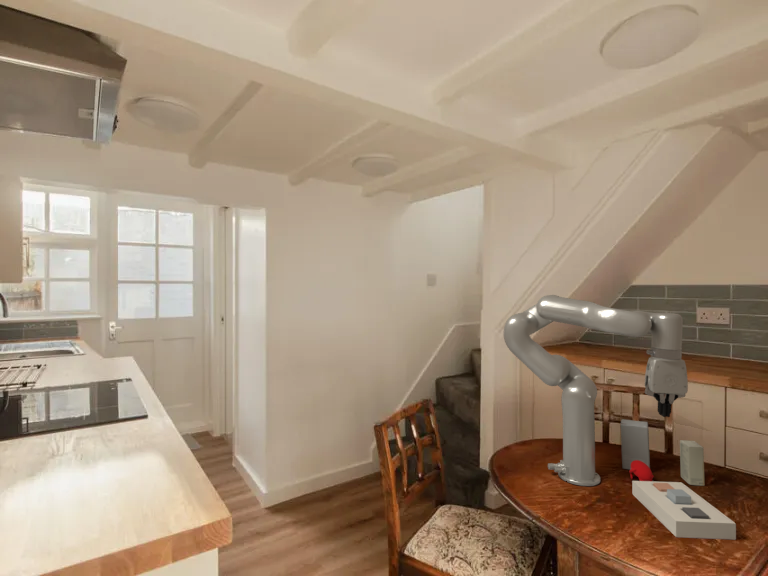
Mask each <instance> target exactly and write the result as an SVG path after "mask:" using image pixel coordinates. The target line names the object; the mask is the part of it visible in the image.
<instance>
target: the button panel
mask: <svg viewBox="0 0 768 576" xmlns="http://www.w3.org/2000/svg"><path fill="white" fill-rule="evenodd" d="M631 483H632V485H631V486H632V495H633V496H634V497H635V498H636V499H637V500H638V502H640V503H641V504H642V505H643V506H644V507H645V508H646V509H647V510H648V511H649V512H650V513H651V514H652V515H653V516H654V517H655V518H656V519H657V520H658V521H659V522H660V523H661V524H662V525H663V526H664V527H665V529H667V530H668V531H669V532H671V534H673V536H675V538H684V539H685V538H689V539H713V540H731V541H732V540H734V541H735V540H736V539H737V524H736V523H735V521H733V520H732V519H731V518H730V517H728V516H726V515H725V514H724V513H723V512H721V511H720V510H719V509H718V508H716V507H715V506H713V504H711V503H709V502H708V501H707V500H705V499H704V498H703V497H702V496H700V495H699V494H697V493H696V492H695V491H693V490H692V489H691V488H690V487H688V486H687V485H685V484H684V483H683V482H679V481H654V480H652V481H640V480H632V481H631ZM653 483H668V484H669V485H671V486H672V487H673V488H674V489H681V490H683V491H685V492H686V493H687V494H688V495H690V496H691V505H683V504H674V503H673V502H672V501H671V500H669V499H668V498H667V492H660V491H659V490H658V489H657V488H656V487H654V486H653ZM682 507H689V508H699V509H701V510H702V511H703V512H704V513H706V514H707V515H708V516H709V519H693V518H690V517H689V516H688V515H687V514H686V513H685V512H683V511H682Z"/></svg>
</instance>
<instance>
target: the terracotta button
mask: <svg viewBox="0 0 768 576" xmlns="http://www.w3.org/2000/svg"><path fill="white" fill-rule="evenodd" d="M653 486H654V487H656V488H657V489H658V490H659V491H660V492H667V489H674V488H673V487H672V486H671V485H669V484H668V483H653Z"/></svg>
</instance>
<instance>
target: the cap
mask: <svg viewBox="0 0 768 576" xmlns="http://www.w3.org/2000/svg"><path fill="white" fill-rule="evenodd" d="M628 472H629V475H630V479H631V480H633V478H634V477H633V476H634V475H635V476H636V477H638V481H653V478H655V476H654V474H653V472H652V470H651V467H650V468H649V467H648V466H647V465H646V464H645V463H644V462H642V461H639V460H634V461H632V463H631V469H630V470H629V471H628ZM633 474H634V475H633Z"/></svg>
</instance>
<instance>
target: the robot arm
mask: <svg viewBox="0 0 768 576" xmlns="http://www.w3.org/2000/svg"><path fill="white" fill-rule="evenodd" d="M683 320H684V319H683V316H682V315H681V314H680V313H673V312H650V311H645V310H625V309H619V308H614V307H613V308H612V307H608V306H604V305H601V304H599V303H595V302H593V301H589V300H582V299H576V298H568V297H562V296H559V295H557V294H547V295H544V296H542V297H540V298H539V300H538V301H537V303H536V304H534V305H533V306H531V307H529V308H528V309H526V310H524V311H523V312H519V313H514V314H512V315H511V316H509V318H508V319H507V320H506V322H505V323H504V327H503V339H504V343H505V345H506V346H507V348H508V350H509V351H510V352H511V353H512V354H513V355H514V356H515V358H517V359H518V360H519V361H520V362H521V363H522V364H523V365H525V367H526V368H528V370H529V371H531V372H532V373H533V374H534V375H535V376H536V377H538V378H539V380H541V382H542V383H544V384H545V385H547V386H550V387H557V386H558V387H559V388H560V389H561V391H562V392H561V393H562V394H561V400H560V401H561V411H562V459H560V460H559V461H560V462H557V463H553V462H551V463H547V468H548V469H547V470H549V471H550V470H553V471H554V473H557V475H558V477H559V478H560V479H562V481H564V482H566V481H567V483H568V484H569V483H570V484H572V485H576V486H581V487H593V486H597V485H599V484H600V483H601V476H600V475H599V474H598V473H597V472H596V437H595V436H596V433H595V432H596V431H595V428H596V427H595V426H596V425H595V423H596V422H595V402H596V399H597V397H598V388H597V385H596V384H595V382H594V381H593V380H592V379H591V378H590V377H589V376H588V375H586V373H584V372H583V371H582V370H581V369H580V368H578V367H577V366H576V365H575V364H574V363H572V362H571V361H570V360H569V359H567V358H566V357H564V356H563V355H560V354H551V353H550V352H548V351H547V350H546V349H545V348H544V347H543V346H542V345H541V344H539V343H538V342H536V341H535V340H534V339H533V338H532V337H531V335H533V334H535V333H536V332H538V331H540V330H541V329H543V328H545V327H547V326H549V325H550V324H553V322H555V323H560V324H561V323H562V324H567V325H573V326H576V327H577V326H578V327H582V328H587V329H591V330H597V331H600V332H604V333H609V334H615V335H619V336H626V337H632V338H641V337H645V336H646V335H651V346H650V348H649V349H647V350H646V354H647V355H650V357H648V360H647V363H646V367H645V374H644V388H645V390H644V394H646V395H647V396H649V397H653V398H654V399H655V400H656V401H657V413H658V415H660V416H661V417H663V418H666V417H667V418H670V417H671V413H672V405H673V404H674V403H675V401H676V400H677V399H679V398H681V399H682V398H685V397H686V394H687V393H688V389H689V383H688V381H689V380H688V371H687V366H686V365H687V364H686V361H685V360H684V359H682V353H683V351H682V349H683V327H684V326H683V323H684V322H683Z"/></svg>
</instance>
